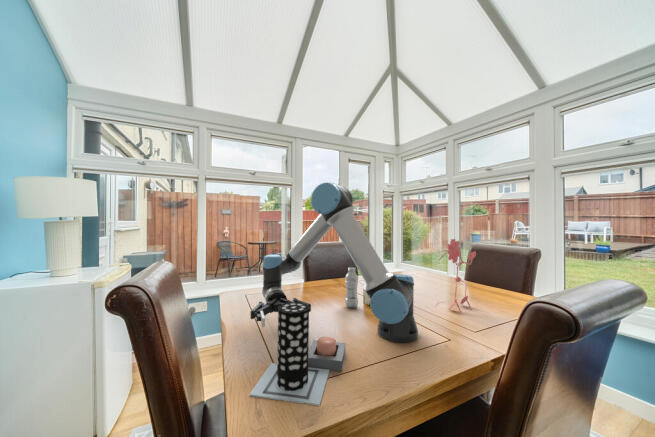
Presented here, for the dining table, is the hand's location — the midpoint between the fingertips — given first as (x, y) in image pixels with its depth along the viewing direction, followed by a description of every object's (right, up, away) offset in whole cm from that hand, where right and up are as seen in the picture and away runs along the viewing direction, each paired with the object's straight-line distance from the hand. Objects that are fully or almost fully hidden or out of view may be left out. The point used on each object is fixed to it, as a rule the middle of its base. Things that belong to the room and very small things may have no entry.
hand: (286, 319), depth 78 cm
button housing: (+12, -13, +3) cm, 18 cm away
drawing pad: (+3, -13, -9) cm, 16 cm away
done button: (+12, -12, +3) cm, 18 cm away
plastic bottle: (+25, -14, +50) cm, 58 cm away
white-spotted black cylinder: (+3, -13, -9) cm, 16 cm away
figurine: (+77, -14, +52) cm, 94 cm away
